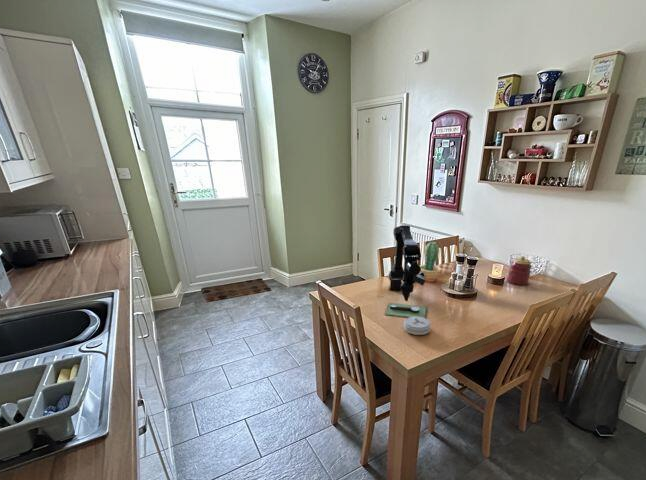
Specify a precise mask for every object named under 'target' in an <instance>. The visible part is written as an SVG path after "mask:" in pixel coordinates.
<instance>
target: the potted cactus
mask: <svg viewBox="0 0 646 480" xmlns="http://www.w3.org/2000/svg"><path fill="white" fill-rule="evenodd" d="M439 252H440V247H439V246H438V243H437V242H436V241H429V242H428V244H427V245H426V246H425V253H424V254H425V261H424V264H420V265H419V266H420V268H421V271H420V273H421V272H423V273H424V277H426V281H425V282H428V283H431V282H435V281H436V278H437V277H438V276H439V274H440V273H441V272H442V268H441V266H438V265H435V264H436V261H437V259H438V257H439ZM420 273H419V274H420Z"/></svg>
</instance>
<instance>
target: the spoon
mask: <svg viewBox="0 0 646 480" xmlns="http://www.w3.org/2000/svg"><path fill="white" fill-rule="evenodd" d="M390 309H396V310H405V311H411V312H412V313H419V311H420V309H419V308H418V307H412V308H409V307H400V306H390Z"/></svg>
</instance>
